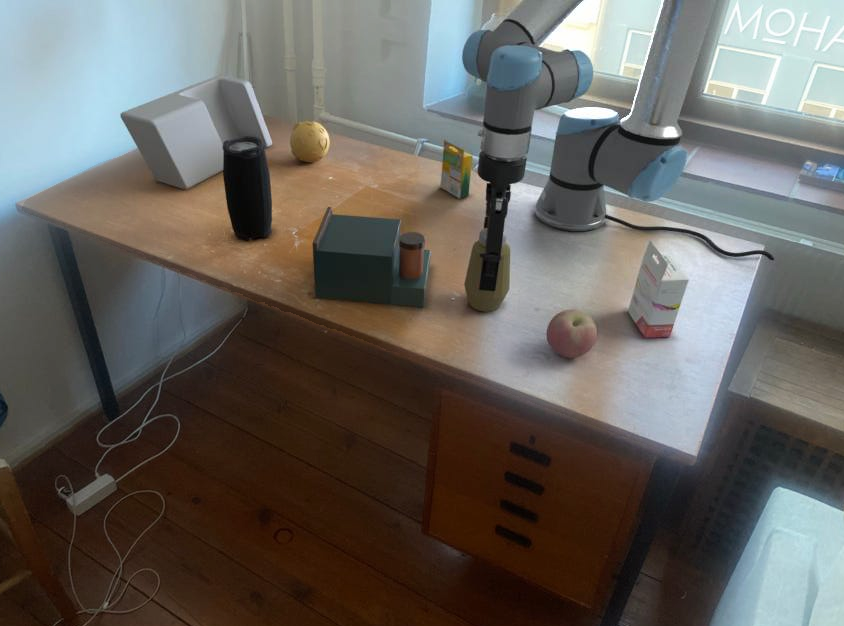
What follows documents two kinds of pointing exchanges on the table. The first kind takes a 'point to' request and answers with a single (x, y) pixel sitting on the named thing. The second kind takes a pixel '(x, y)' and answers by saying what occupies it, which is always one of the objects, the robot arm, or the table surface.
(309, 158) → the stress ball
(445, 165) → the crayon box
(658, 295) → the ink cartridge box
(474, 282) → the squeeze bottle
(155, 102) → the bracket
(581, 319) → the apple
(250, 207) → the portable speaker
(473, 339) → the table surface
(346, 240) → the dark green stepped block
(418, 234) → the spice jar
